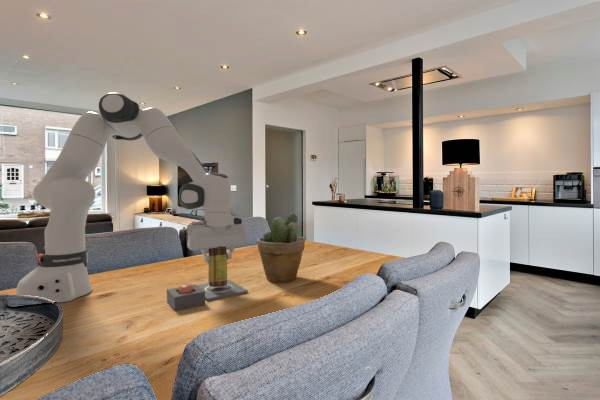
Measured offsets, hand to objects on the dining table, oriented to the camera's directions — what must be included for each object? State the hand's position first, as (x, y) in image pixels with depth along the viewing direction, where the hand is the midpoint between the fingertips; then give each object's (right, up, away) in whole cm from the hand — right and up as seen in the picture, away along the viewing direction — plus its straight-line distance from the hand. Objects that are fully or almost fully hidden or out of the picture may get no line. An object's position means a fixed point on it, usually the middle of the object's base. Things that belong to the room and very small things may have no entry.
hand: (218, 260), depth 116 cm
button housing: (-7, -11, -12) cm, 18 cm away
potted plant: (+21, -10, +15) cm, 27 cm away
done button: (-7, -9, -12) cm, 17 cm away
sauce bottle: (0, -9, -1) cm, 9 cm away
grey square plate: (0, -11, 0) cm, 11 cm away
